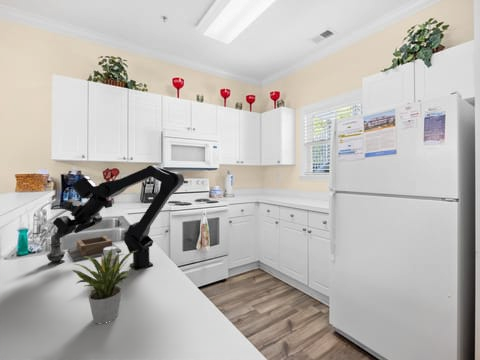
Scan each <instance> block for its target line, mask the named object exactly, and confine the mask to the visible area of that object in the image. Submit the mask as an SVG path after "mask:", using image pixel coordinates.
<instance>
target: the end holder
mask: <svg viewBox="0 0 480 360" xmlns="http://www.w3.org/2000/svg"><path fill="white" fill-rule="evenodd" d="M111 246H115V247H117V253H118V254H119V253H121V252H122V249H120V248H119V247H118V246H117V245H116V244H114V243H113V240H112V239H111V238H109V237H108V236H107V235H101V236H95V237H89V238H83V239H82V238H81V239H77V240H76V247H70V248H68V250H67V251H68V252H69V254H70V256H71V258H72V259H73V261H74V262H75V263H76V262H81V261H85V260H90V259H89V258H87V257H84V256H88V255H89V256H88V257H91V258H94V259H96V258H98V257H102V255H103V254H104V253H103V249H104V248H106V247H111Z"/></svg>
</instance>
